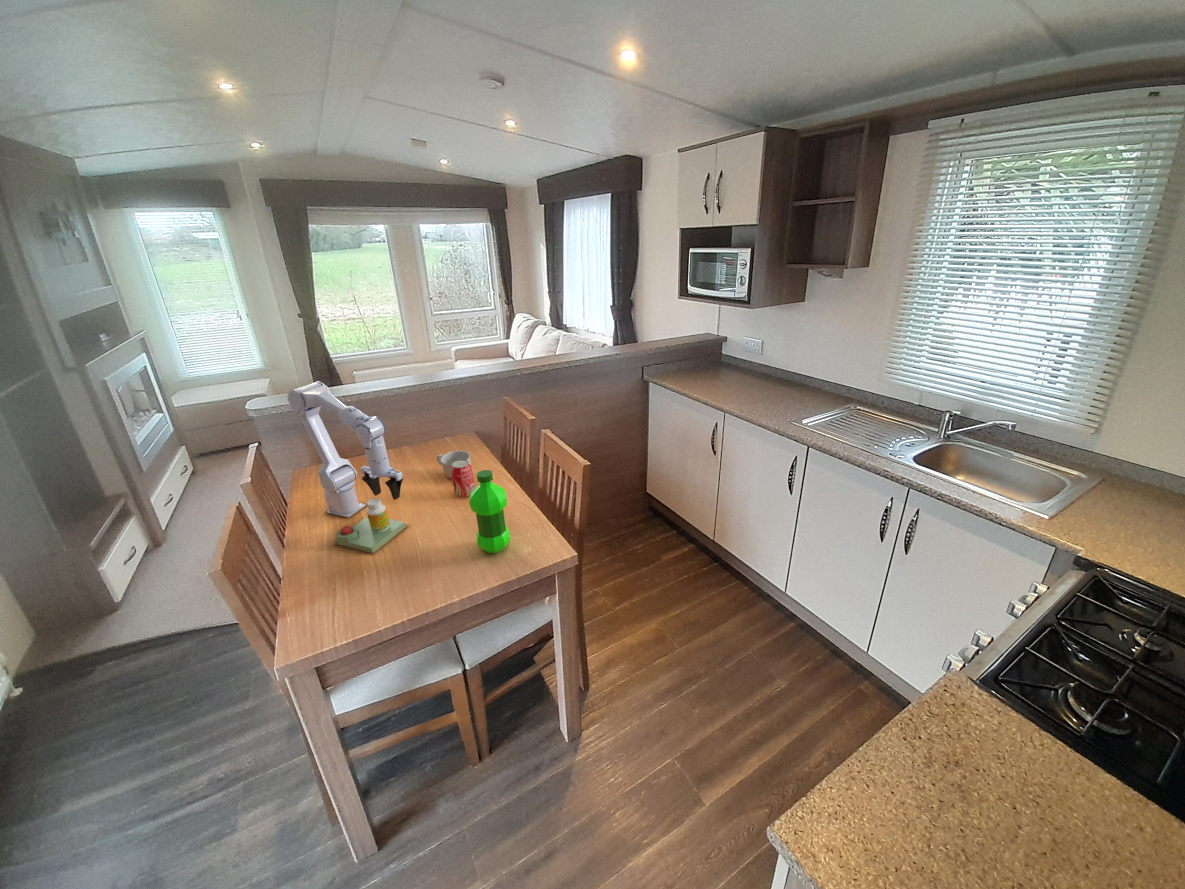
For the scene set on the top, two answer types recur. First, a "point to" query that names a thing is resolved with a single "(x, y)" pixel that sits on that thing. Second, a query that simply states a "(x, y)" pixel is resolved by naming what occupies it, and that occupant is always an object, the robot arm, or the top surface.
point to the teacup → (452, 460)
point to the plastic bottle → (490, 513)
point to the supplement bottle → (377, 515)
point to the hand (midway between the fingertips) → (387, 496)
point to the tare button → (346, 530)
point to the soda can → (462, 478)
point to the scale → (369, 536)
